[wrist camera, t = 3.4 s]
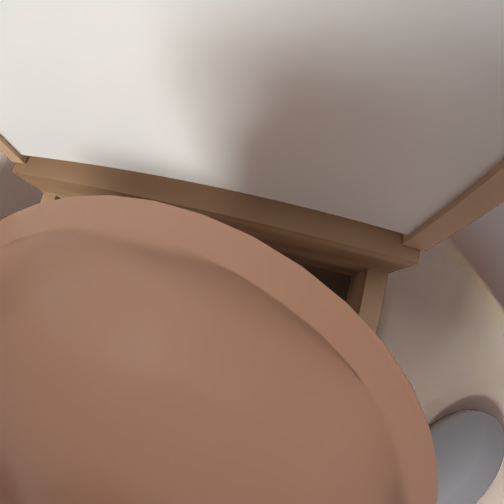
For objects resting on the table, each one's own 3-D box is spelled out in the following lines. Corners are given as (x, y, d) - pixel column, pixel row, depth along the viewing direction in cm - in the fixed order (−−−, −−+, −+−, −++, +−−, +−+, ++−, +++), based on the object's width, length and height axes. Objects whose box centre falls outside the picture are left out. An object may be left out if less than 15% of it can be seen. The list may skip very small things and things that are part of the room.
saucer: (467, 515, 13) (473, 520, 12) (366, 527, 14) (371, 535, 13) (511, 409, 15) (520, 411, 14) (416, 407, 15) (424, 411, 14)
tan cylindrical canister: (276, 440, 15) (305, 678, 1) (154, 407, 15) (-56, 532, 1) (309, 319, 16) (510, 287, 2) (183, 288, 16) (-43, 166, 3)
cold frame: (305, 495, 14) (322, 557, 8) (28, 402, 15) (-33, 420, 9) (369, 262, 17) (420, 237, 11) (74, 194, 18) (19, 153, 12)
